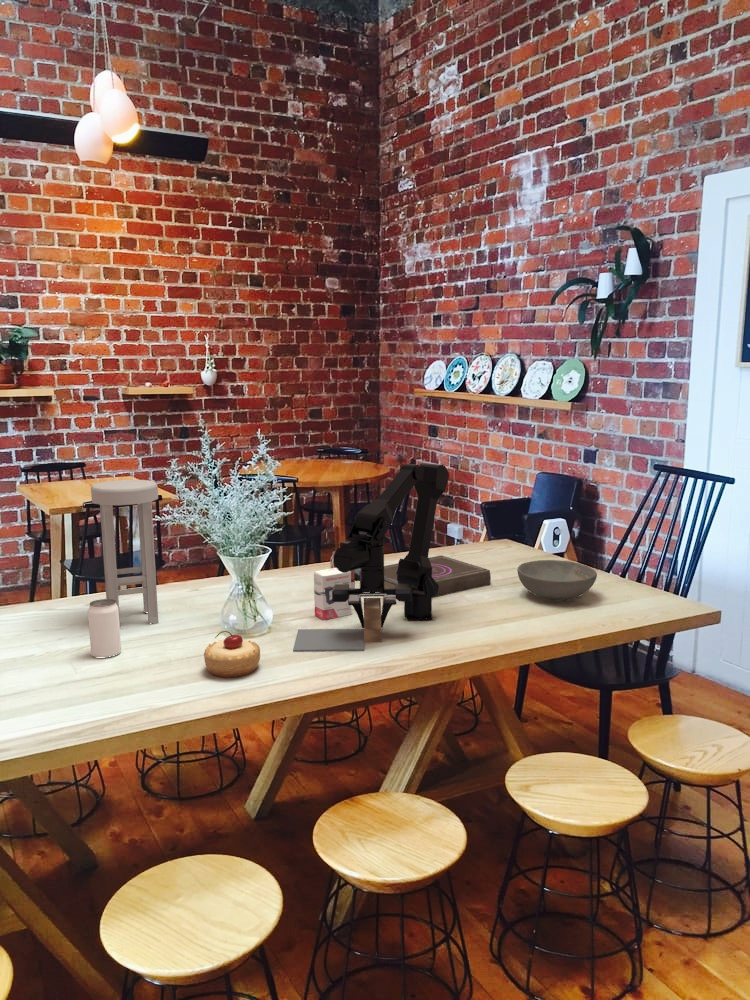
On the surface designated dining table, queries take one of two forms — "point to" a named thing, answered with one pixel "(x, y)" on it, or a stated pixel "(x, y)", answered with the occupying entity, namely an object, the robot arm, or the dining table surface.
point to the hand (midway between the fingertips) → (372, 627)
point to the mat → (329, 640)
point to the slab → (372, 620)
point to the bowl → (556, 578)
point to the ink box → (330, 593)
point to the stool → (143, 496)
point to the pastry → (232, 656)
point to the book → (446, 575)
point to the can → (104, 628)
